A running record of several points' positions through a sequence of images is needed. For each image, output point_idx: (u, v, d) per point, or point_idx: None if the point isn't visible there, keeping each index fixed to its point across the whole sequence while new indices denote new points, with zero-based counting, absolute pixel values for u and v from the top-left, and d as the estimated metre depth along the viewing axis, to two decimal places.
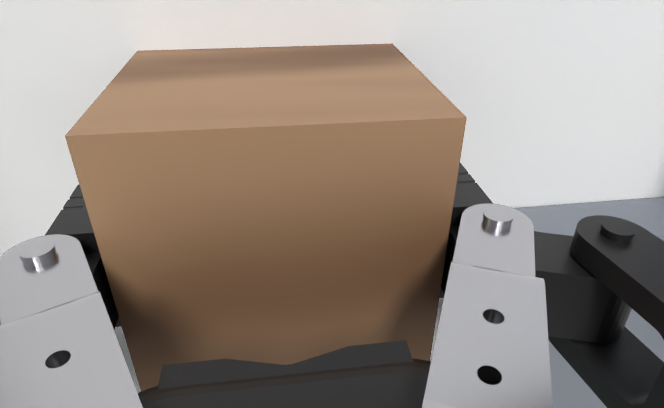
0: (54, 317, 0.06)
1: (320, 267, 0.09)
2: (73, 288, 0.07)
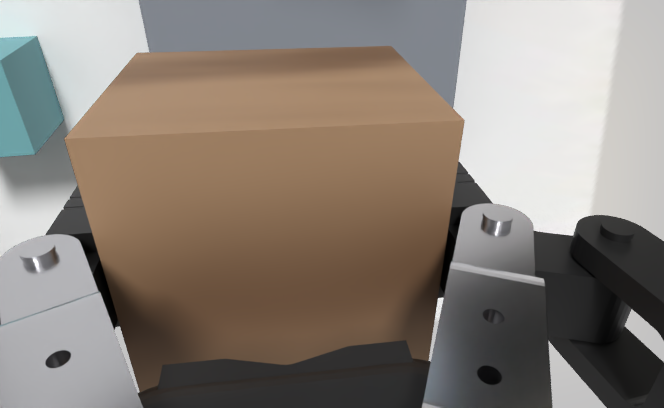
0: (54, 317, 0.06)
1: (318, 269, 0.09)
2: (73, 288, 0.07)
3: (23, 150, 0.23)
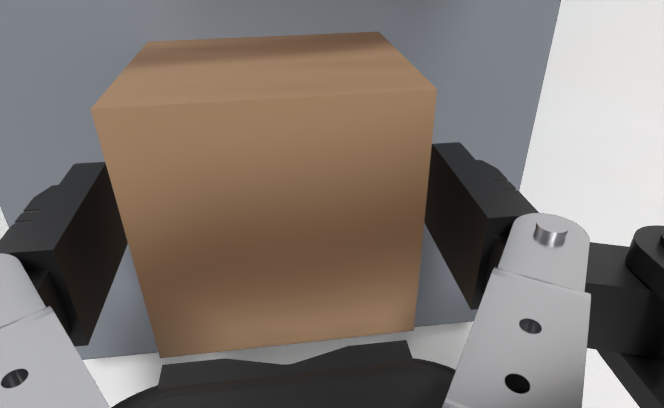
0: (4, 337, 0.06)
1: (313, 227, 0.10)
2: (4, 314, 0.07)
3: None
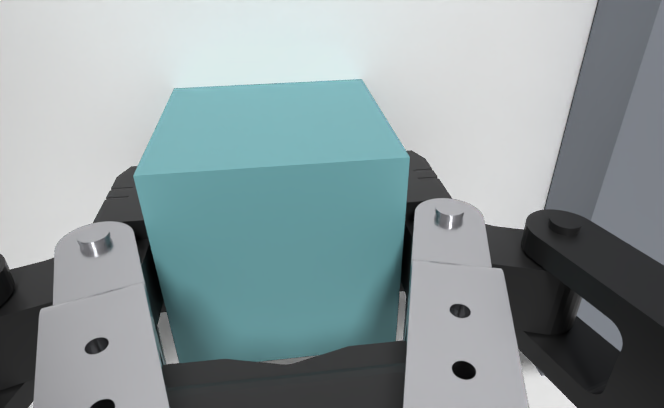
0: (98, 304, 0.06)
1: None
2: (132, 271, 0.07)
3: (374, 340, 0.10)
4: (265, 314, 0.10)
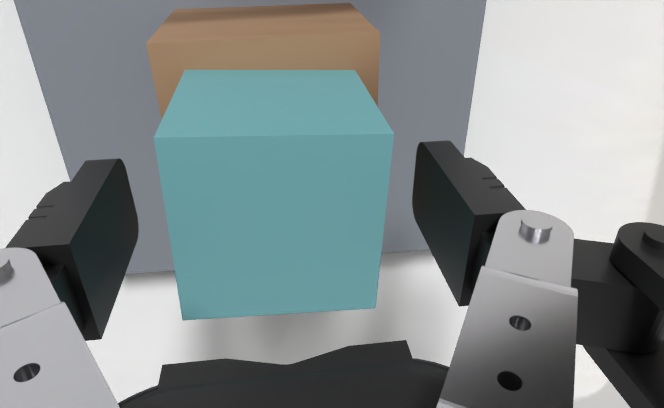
0: (18, 331, 0.06)
1: None
2: (24, 306, 0.07)
3: (357, 301, 0.12)
4: (261, 271, 0.11)
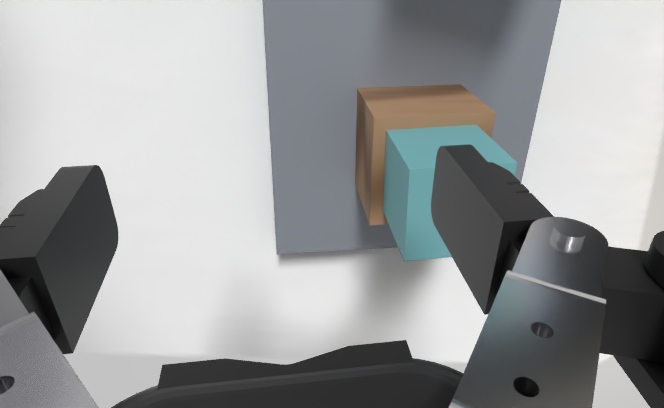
0: None
1: None
2: None
3: None
4: None
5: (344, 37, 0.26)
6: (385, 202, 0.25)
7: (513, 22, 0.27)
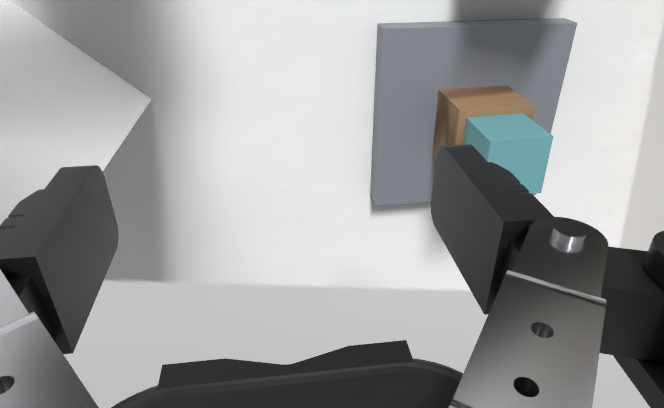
0: None
1: None
2: None
3: (535, 190, 0.36)
4: None
5: (432, 56, 0.40)
6: None
7: (543, 44, 0.40)
